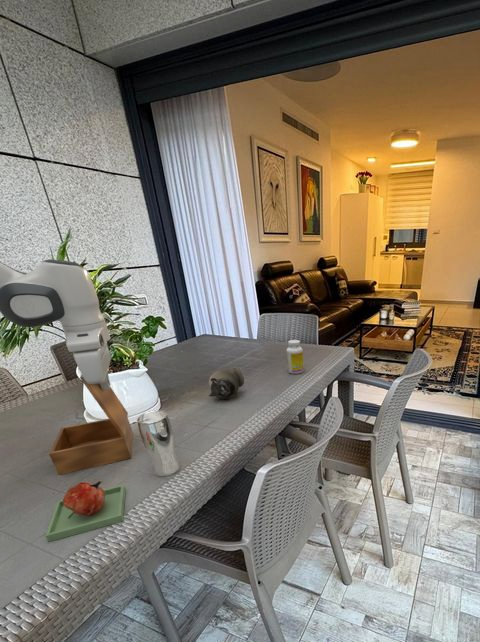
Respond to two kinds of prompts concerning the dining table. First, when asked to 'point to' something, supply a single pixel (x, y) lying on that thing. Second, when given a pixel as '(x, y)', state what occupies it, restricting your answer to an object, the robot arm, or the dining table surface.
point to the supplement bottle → (295, 357)
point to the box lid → (109, 405)
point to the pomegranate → (84, 498)
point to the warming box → (90, 446)
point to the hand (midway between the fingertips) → (106, 388)
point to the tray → (82, 523)
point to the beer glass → (159, 441)
